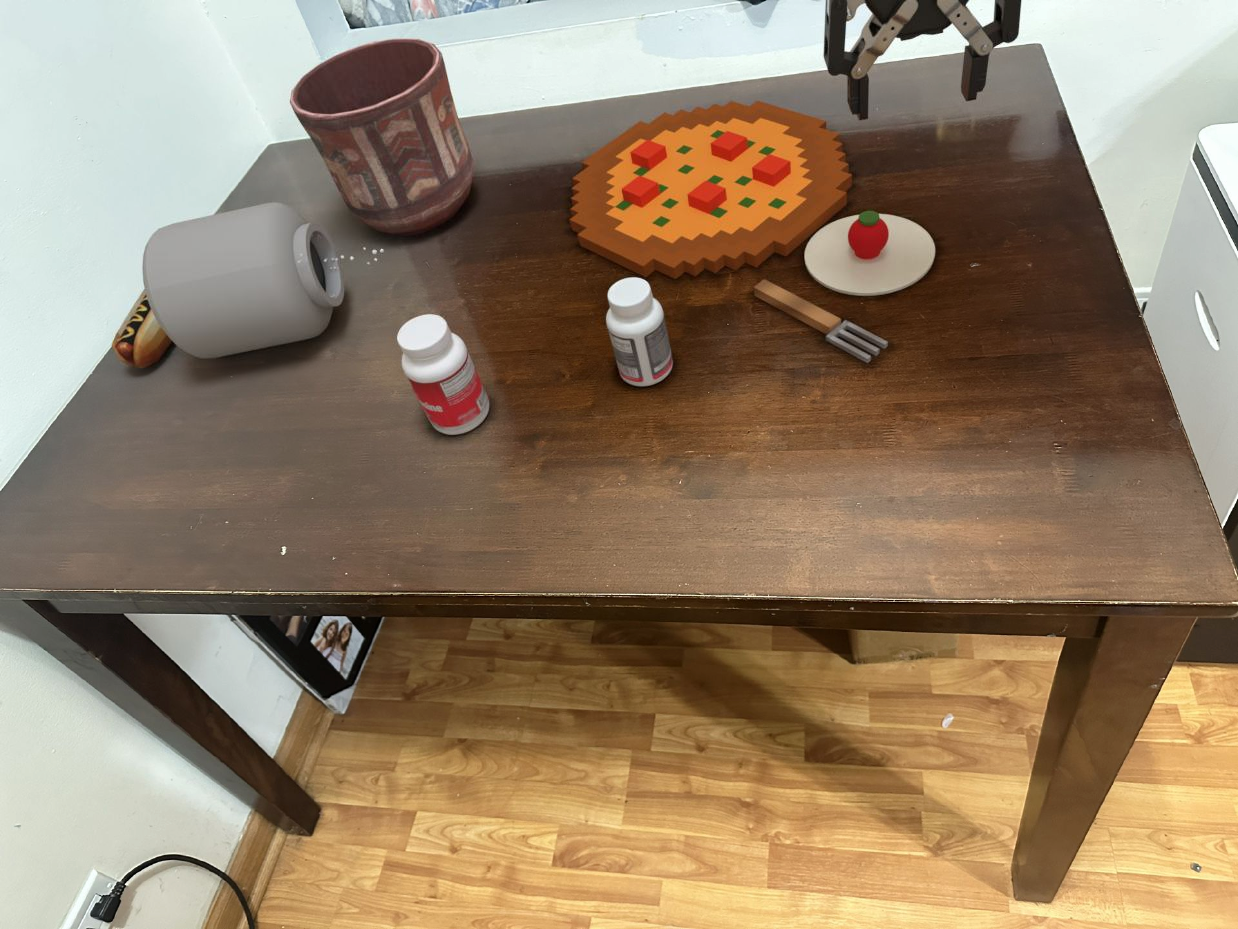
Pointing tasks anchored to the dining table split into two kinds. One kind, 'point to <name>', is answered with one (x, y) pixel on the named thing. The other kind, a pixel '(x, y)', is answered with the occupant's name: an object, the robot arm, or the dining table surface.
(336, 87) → the pottery
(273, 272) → the jar
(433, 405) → the pill bottle
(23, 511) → the dining table surface
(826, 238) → the plate
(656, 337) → the pill bottle
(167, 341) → the hot dog
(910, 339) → the dining table surface
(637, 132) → the pizza
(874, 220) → the strawberry
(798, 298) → the fork
